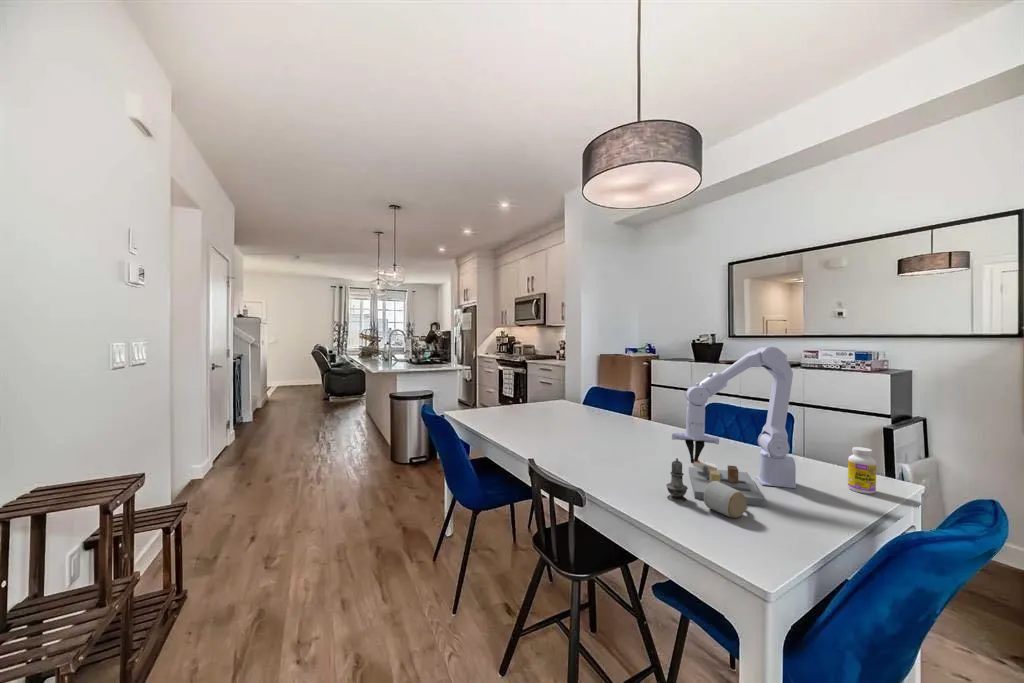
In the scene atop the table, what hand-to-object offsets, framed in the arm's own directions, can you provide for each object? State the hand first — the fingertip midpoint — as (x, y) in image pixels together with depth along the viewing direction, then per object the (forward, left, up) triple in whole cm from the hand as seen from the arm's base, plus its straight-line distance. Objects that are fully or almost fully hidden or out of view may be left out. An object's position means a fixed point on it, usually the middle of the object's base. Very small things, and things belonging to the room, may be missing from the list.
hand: (693, 462), depth 141 cm
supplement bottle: (-48, -4, -5) cm, 48 cm away
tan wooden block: (-5, +14, -3) cm, 15 cm away
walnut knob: (-11, +6, -3) cm, 13 cm away
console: (-8, +7, -5) cm, 12 cm away
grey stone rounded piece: (+6, +21, -5) cm, 23 cm away
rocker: (-3, 0, -1) cm, 3 cm away
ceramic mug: (-6, +27, -5) cm, 28 cm away
